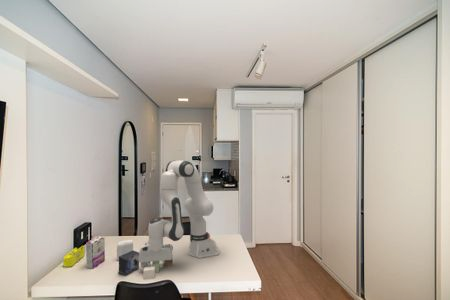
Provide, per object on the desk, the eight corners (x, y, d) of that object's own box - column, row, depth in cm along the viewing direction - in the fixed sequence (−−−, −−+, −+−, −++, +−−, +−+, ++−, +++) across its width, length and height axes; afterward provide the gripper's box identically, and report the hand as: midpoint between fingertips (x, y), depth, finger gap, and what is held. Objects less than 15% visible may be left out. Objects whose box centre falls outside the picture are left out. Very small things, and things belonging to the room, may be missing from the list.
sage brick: (159, 267, 149) (159, 259, 149) (158, 272, 143) (158, 264, 143) (152, 268, 148) (152, 260, 148) (151, 273, 142) (151, 265, 142)
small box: (125, 276, 138) (125, 259, 138) (117, 273, 141) (117, 256, 141) (139, 268, 147) (139, 252, 147) (132, 266, 151) (132, 249, 151)
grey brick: (146, 263, 155) (146, 255, 155) (150, 266, 150) (150, 258, 150) (140, 265, 152) (140, 257, 152) (144, 268, 147) (144, 260, 147)
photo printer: (132, 255, 166) (132, 238, 165) (133, 257, 162) (133, 240, 162) (116, 259, 160) (116, 241, 160) (117, 261, 156) (117, 243, 156)
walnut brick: (163, 263, 154) (163, 256, 154) (172, 262, 155) (172, 255, 155) (162, 266, 150) (162, 258, 150) (172, 265, 151) (172, 258, 151)
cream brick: (144, 275, 139) (144, 267, 139) (154, 274, 141) (154, 266, 141) (143, 279, 136) (143, 270, 135) (154, 278, 137) (154, 269, 137)
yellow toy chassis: (72, 267, 149) (72, 254, 149) (62, 268, 149) (62, 254, 149) (85, 256, 165) (85, 244, 165) (76, 256, 165) (76, 244, 164)
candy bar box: (98, 260, 159) (98, 235, 159) (105, 260, 158) (104, 236, 158) (85, 268, 148) (85, 242, 148) (92, 269, 147) (92, 243, 147)
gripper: (173, 241, 150) (173, 263, 151) (139, 244, 147) (139, 266, 147) (172, 245, 144) (172, 268, 144) (137, 248, 140) (137, 271, 140)
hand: (155, 267), depth 146 cm, fingers open, 5 cm apart
